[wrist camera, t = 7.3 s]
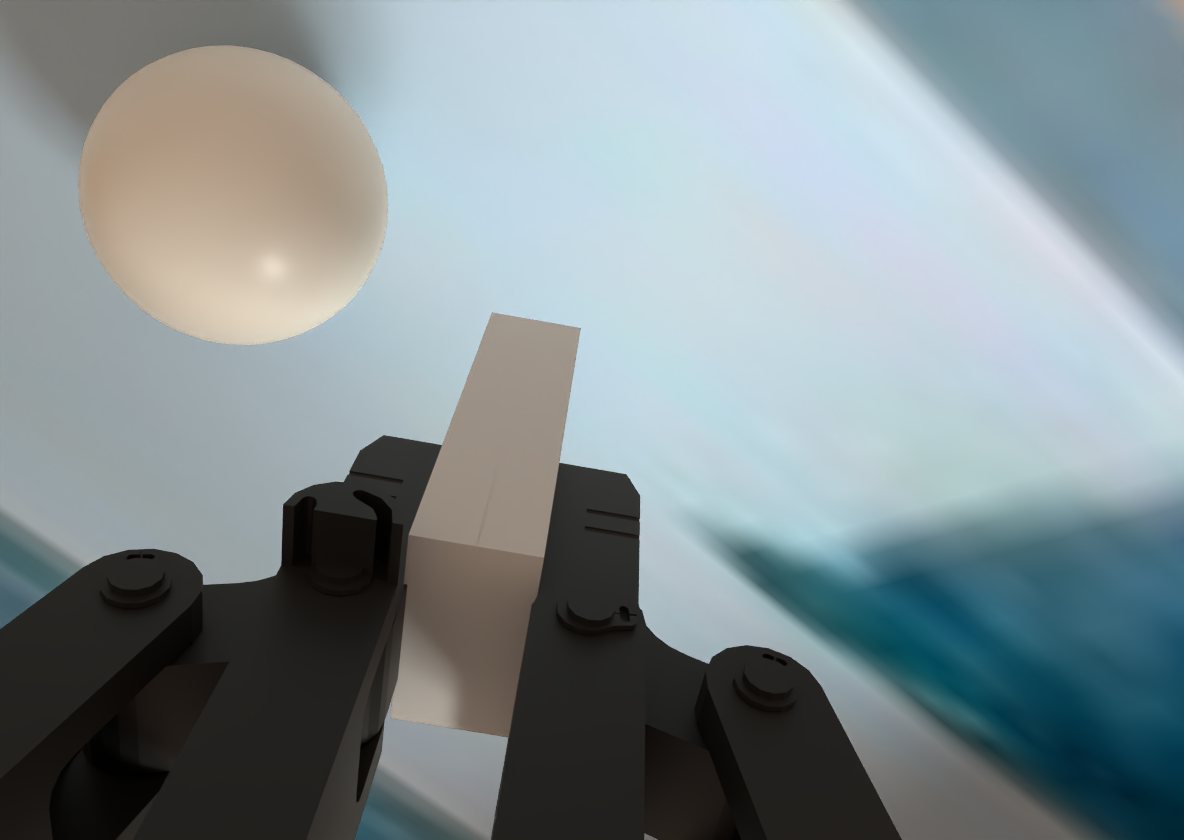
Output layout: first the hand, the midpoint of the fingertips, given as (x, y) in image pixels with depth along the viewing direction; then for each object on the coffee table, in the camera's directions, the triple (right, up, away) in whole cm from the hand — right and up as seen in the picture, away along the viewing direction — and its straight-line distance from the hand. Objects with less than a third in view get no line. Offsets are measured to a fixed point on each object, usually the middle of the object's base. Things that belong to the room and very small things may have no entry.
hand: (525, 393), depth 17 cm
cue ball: (-5, +4, +2) cm, 7 cm away
